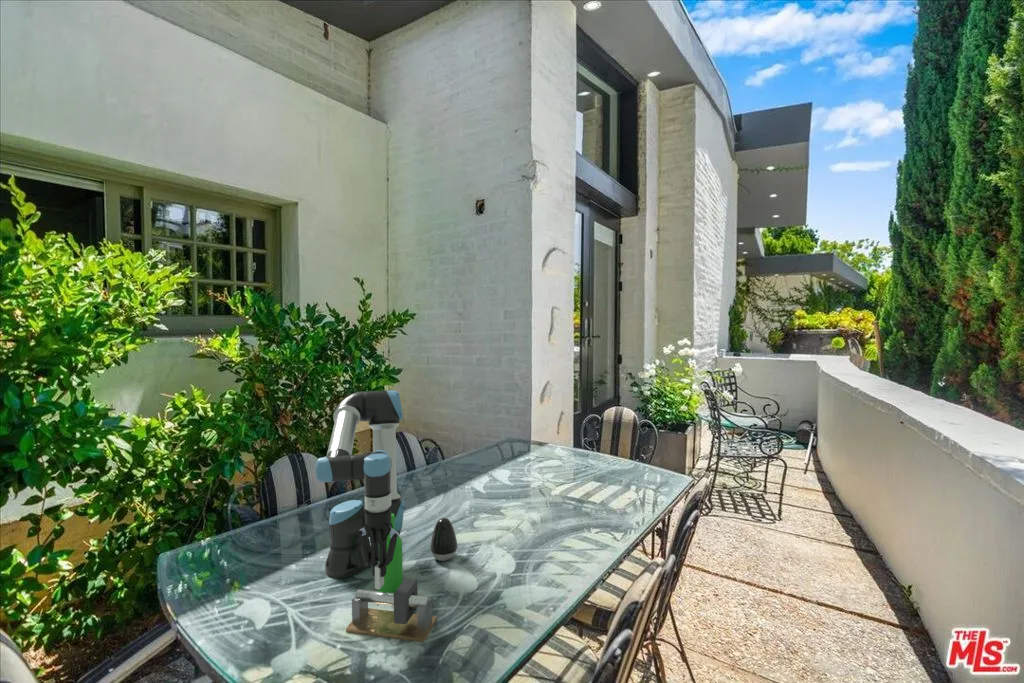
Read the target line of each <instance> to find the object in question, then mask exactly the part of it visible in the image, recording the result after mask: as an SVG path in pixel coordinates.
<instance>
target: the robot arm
mask: <svg viewBox="0 0 1024 683" xmlns="http://www.w3.org/2000/svg"><path fill="white" fill-rule="evenodd" d="M403 415H404V414H403V408H402V402H401V395H400V392H399V391H397V390H389V389H388V390H386V389H385V390H372V391H371V390H370V391H357V392H354V393H350V395H347V396H346V397H345V398H344V399H342V400H341V401H340V402H339V403H338V405H337V406H336V407H335V410H334V411H333V416H332V419H333V422H334V424H333V428H332V432H331V437H330V441H329V445H328V449H327V452H326V456H323V457H319V458H318V459H317V460H316V462H315V463H316V464H315V479H316V481H317V482H318V483H335V482H345V481H356V480H364V481H363V482H364V502H363V501H362V500H360V499H358V500H357V499H350V500H347V501H346V500H345V501H343V502H342V503H339V504H336V505H335V506H333V507H332V508H331V510H330V512H329V521H328V524H329V551H328V554H327V558H326V561H325V564H324V572H325V574H326V575H327V576H328V577H331V578H339V579H340V578H342V579H343V578H347V577H353V576H356V575H357V574H360V573H362V572H364V571H365V570H366V569H367V568H368V567H369V564H370V565H371V571H372V573H371V574H372V576H373V577H374V589H376V590H377V589H380V588H381V587H382V586H383V585H384V576H385V575H386V565H389V564H390V563H391V561H392V560H393V555H394V551H395V546H396V541H397V538H398V536H399V537H400V535H401V531H402V529H403V523H404V514H405V513H404V511H405V504H406V503H405V502H406V501H405V500H402V499H401V498H402V497H401V495H400V494H399V493H398V491H397V438H396V436H397V432H396V431H397V430H396V428H398V427H399V425H400V421H401V420H403V419H404V416H403ZM361 422H368V427H369V428H371V430H372V452H371V453H365V454H353V450H354V449H353V448H354V441H355V436H356V431H357V429H356V428H357V426H358V424H359V423H361ZM391 513H392V514H394V515H395V520H394V529H393V526H392V524H391ZM389 533H390V538H391V539H390V542H389V547H388V551H387V536H388V535H389ZM378 562H379V563H378Z"/></svg>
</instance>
